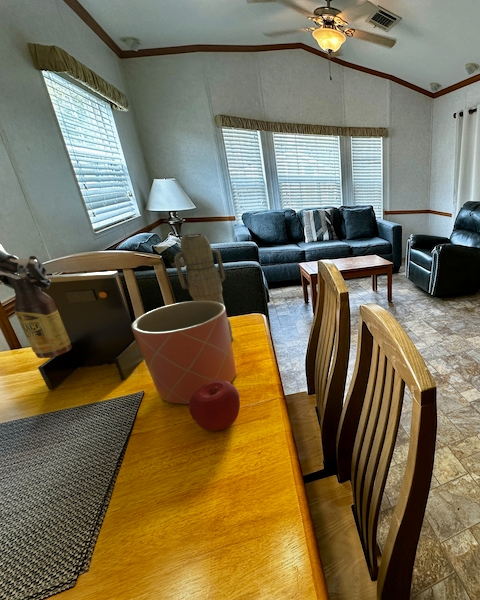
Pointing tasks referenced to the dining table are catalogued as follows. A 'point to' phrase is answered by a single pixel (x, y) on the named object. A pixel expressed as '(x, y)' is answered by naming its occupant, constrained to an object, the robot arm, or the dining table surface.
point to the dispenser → (91, 326)
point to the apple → (215, 405)
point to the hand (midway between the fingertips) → (34, 286)
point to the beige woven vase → (201, 270)
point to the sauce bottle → (39, 319)
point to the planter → (185, 347)
